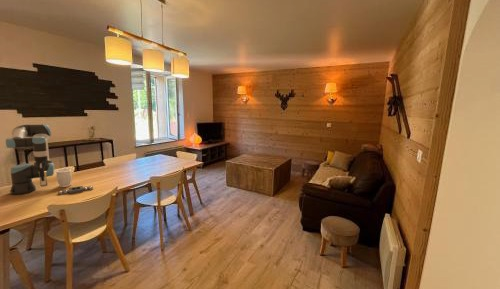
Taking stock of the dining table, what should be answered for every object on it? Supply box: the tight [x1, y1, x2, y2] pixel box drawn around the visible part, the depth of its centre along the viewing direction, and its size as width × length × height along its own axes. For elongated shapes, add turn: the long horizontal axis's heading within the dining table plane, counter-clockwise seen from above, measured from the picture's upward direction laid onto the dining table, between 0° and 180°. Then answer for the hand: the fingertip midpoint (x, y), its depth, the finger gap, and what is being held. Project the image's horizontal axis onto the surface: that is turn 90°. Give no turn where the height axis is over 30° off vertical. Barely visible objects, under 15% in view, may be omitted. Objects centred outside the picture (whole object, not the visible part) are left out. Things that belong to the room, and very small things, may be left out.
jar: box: [56, 168, 73, 188], centre depth 198 cm, size 11×10×15 cm
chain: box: [57, 185, 94, 195], centre depth 189 cm, size 10×24×3 cm, turn 129°
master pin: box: [38, 171, 48, 188], centre depth 175 cm, size 5×5×12 cm
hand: (43, 183), depth 175 cm, fingers closed on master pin, 4 cm apart
